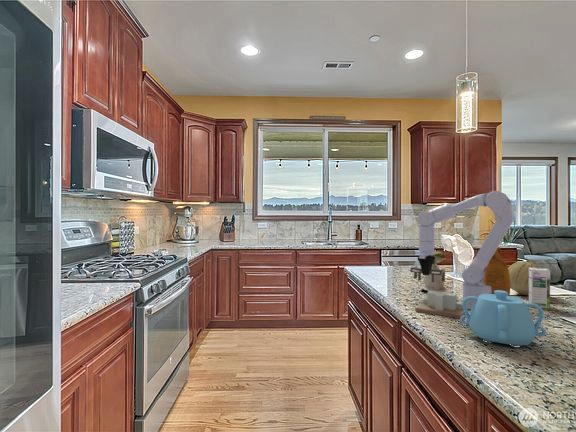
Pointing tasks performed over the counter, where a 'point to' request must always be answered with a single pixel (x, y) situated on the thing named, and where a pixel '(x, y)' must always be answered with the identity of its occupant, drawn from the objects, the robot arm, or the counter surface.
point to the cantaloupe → (521, 276)
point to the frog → (435, 276)
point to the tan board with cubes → (441, 304)
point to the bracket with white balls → (432, 271)
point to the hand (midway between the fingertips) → (426, 274)
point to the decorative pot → (502, 319)
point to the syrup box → (539, 287)
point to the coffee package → (497, 274)
